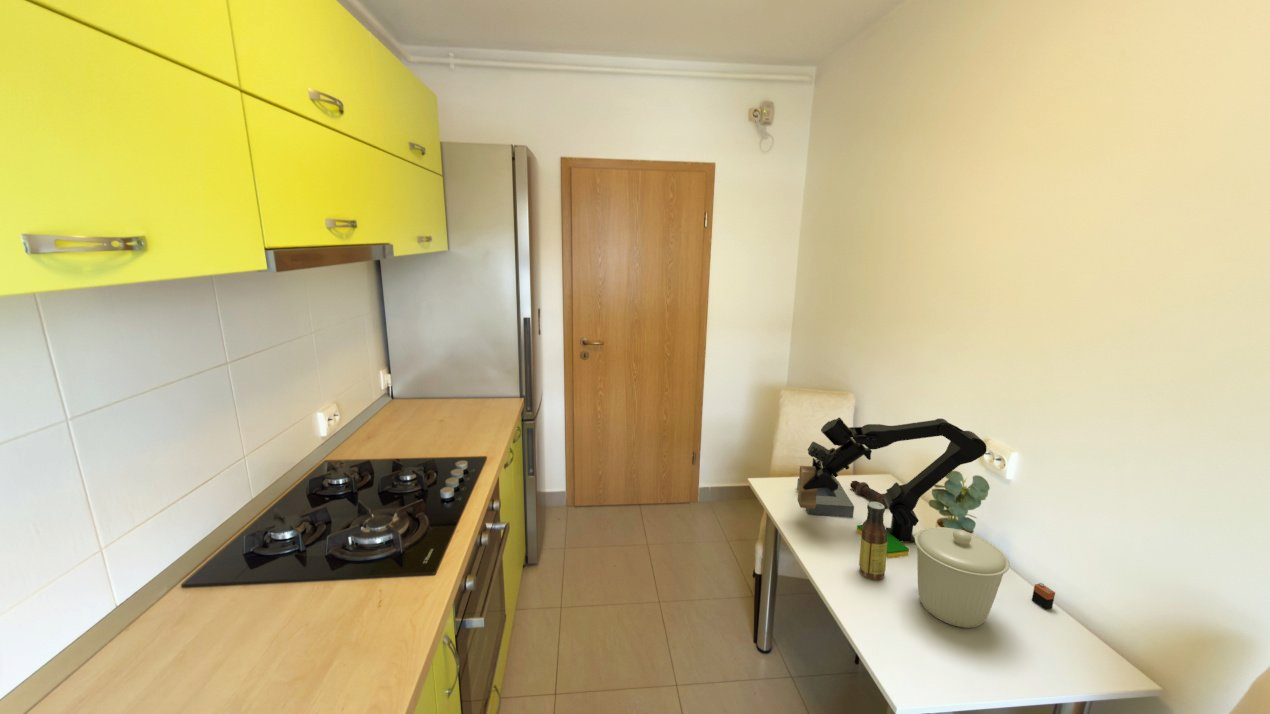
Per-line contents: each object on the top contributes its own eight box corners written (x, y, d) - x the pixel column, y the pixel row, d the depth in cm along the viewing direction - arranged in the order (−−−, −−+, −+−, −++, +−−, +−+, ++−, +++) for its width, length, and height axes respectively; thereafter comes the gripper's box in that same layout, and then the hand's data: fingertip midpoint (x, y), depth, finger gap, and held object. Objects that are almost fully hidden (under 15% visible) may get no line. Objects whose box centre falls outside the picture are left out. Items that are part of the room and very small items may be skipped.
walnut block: (815, 508, 146) (818, 472, 143) (800, 507, 146) (802, 472, 144) (812, 501, 150) (814, 466, 148) (797, 500, 151) (800, 465, 148)
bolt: (854, 493, 172) (887, 512, 158) (844, 488, 170) (878, 507, 156) (861, 479, 172) (895, 497, 158) (852, 474, 170) (886, 492, 156)
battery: (1038, 599, 116) (1041, 581, 115) (1052, 608, 113) (1056, 590, 112) (1030, 600, 115) (1034, 582, 114) (1045, 610, 112) (1049, 592, 111)
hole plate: (853, 517, 152) (854, 506, 151) (808, 514, 154) (809, 503, 153) (837, 490, 170) (838, 480, 169) (797, 488, 171) (797, 478, 171)
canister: (1003, 610, 112) (1018, 531, 108) (990, 655, 100) (1006, 567, 95) (918, 575, 125) (928, 502, 120) (897, 611, 112) (907, 531, 108)
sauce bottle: (887, 572, 126) (895, 505, 122) (880, 584, 121) (888, 514, 117) (861, 562, 130) (868, 496, 126) (853, 573, 126) (861, 505, 121)
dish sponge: (876, 529, 146) (877, 522, 146) (909, 556, 133) (910, 549, 133) (855, 531, 145) (856, 524, 145) (886, 559, 132) (887, 551, 131)
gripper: (822, 425, 151) (784, 454, 156) (829, 447, 133) (786, 479, 139) (846, 451, 151) (807, 478, 156) (856, 476, 133) (812, 507, 138)
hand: (803, 484), depth 147 cm, fingers closed on walnut block, 5 cm apart
